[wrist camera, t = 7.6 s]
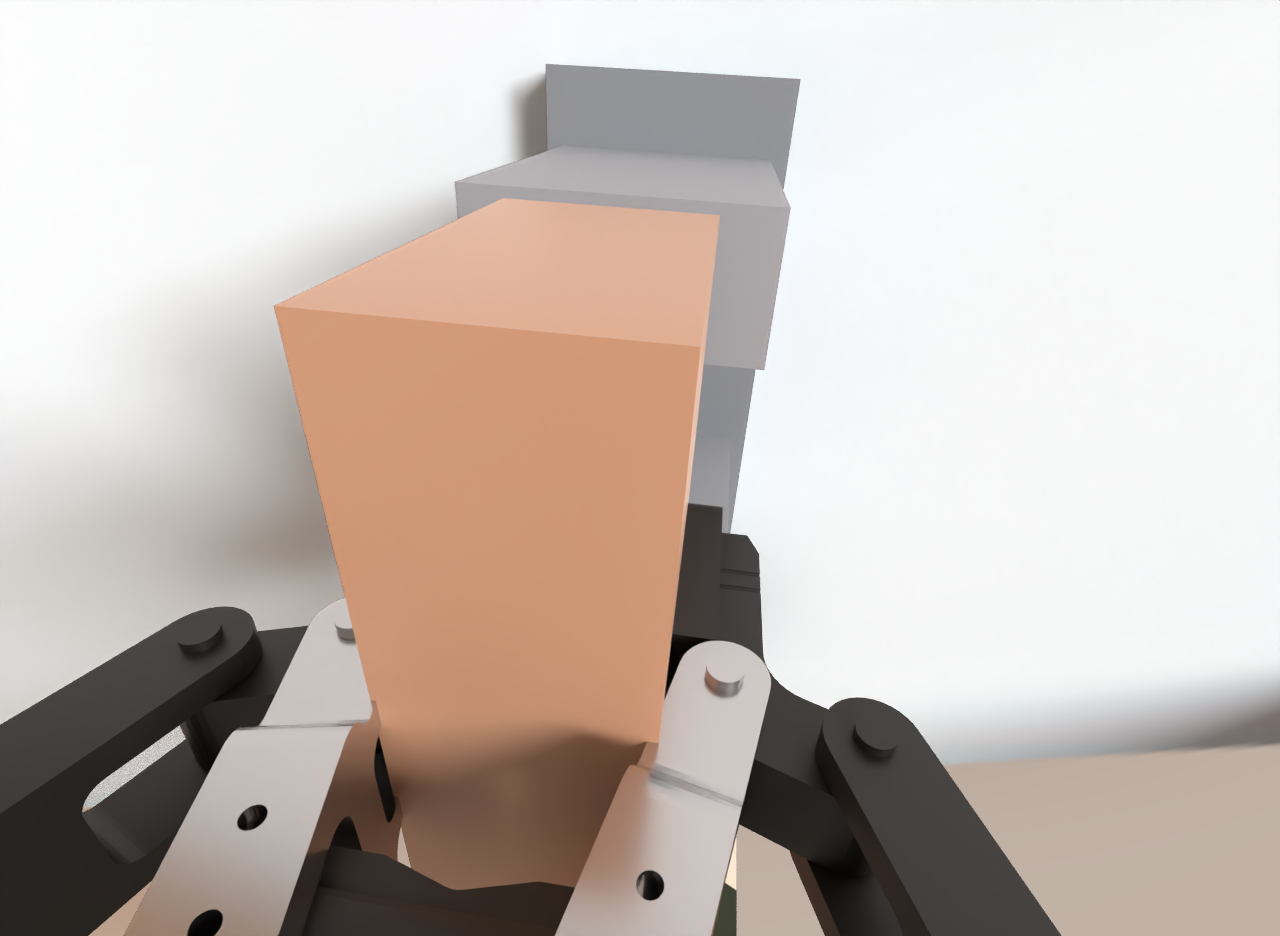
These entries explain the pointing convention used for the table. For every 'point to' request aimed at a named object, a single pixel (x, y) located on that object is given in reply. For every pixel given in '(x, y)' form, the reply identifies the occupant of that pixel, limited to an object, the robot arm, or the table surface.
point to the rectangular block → (510, 510)
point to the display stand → (679, 208)
